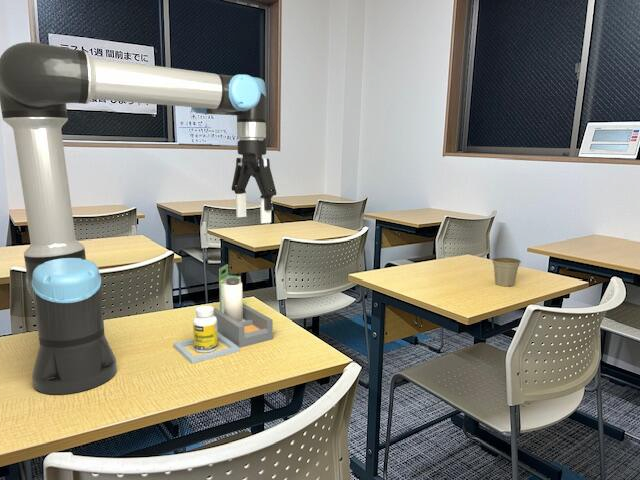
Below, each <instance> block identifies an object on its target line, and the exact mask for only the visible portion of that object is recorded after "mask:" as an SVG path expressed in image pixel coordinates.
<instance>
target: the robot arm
mask: <svg viewBox="0 0 640 480" xmlns="http://www.w3.org/2000/svg"><path fill="white" fill-rule="evenodd" d="M266 91H267V90H266V83H265V81H264V79H262V78H260V77H254V76H251V75H249V74H239V73H238V74H236V75H227V74H221V73H220V74H219V73H217V74H216V73H214V72H213V73H212V72H206V71H198V70H188V69H182V68H173V67H166V66H158V65H152V64H151V65H150V64H143V63H137V62H136V63H135V62H128V61H119V60H114V59H105V58H97V57H93V56H91V55H90V54H89V53H88V52H87V51H86V50H79V49H75V48H74V49H73V48H68V47H64V46H63V47H62V46H57V45H53V44H46V43H40V42H32V41H29V42H27V41H25V42H20V43H19V42H18V43H16V44H13V45H11V46H10V47H8V48H7V49H6V50H4V52H3V53H1V55H0V110H1V117H2V120H3V121H4V122H5V123H6V124H7V125H9V126H10V127H11V128H12V130H13V135H14V143H15V150H16V156H17V163H18V171H19V176H20V182H21V188H22V197H23V202H24V209H25V215H26V221H27V222H26V223H27V229H28V235H29V241H30V245H29V246H28V247H27V249H26V250H25V251H24V252H23V258H24V264H25V265H24V266H25V269H26V270H25V271H26V278H25V283H26V288H27V291H28V293H29V295H30V296H31V299H32V301H33V304H34V308H35V314H36V323H37V324H36V325H37V332H38V333H37V334H38V343H39V347H38V352H37V355H36V360H35V363H34V367H33V371H32V375H31V376H32V383H33V388H34V389H35V390H36V391H37V390H38V391H37V392H39V391H40V392H39V393H42V394H48V395H67V394H68V395H69V394H75V393H80V392H83V391H88V390H90V389H94V388H96V387H98V386H100V385H103V384H106V383H107V382H109V381H110V380H111V379H112V378H113V377H114V376H115V375H116V373H117V371H118V368H117V359H116V356H115V355H114V352H113V350H112V348H111V345H110V344H109V342H108V340H107V337H106V335H105V334H106V333H105V324H104V310H103V299H102V298H103V297H102V277H101V274H100V270H99V269H100V268H99V267H98V265H97V264H96V263H95V262H93V261H92V260H90V259H87V257H86V249H85V246H84V244H82V243H81V242H80V241H78V240H77V238H76V232H75V231H76V230H75V224H74V216H73V209H72V202H71V194H70V186H69V180H68V179H69V178H68V171H67V165H66V164H67V162H66V157H65V156H66V155H65V150H64V147H65V146H64V141H63V133H62V128H63V126H64V125H65V124H66V123H67V122H68V120H69V118H68V110H67V104H84V105H87V104H89V103H90V102H91V101H93V100H97V101H98V100H100V101H113V102H122V103H123V102H124V103H137V104H147V105H148V104H150V105H158V106H159V105H161V106H162V105H163V106H173V107H183V108H184V107H185V108H187V107H188V108H191V110H192V111H193V113H195V114H202V115H219V116H220V115H221V116H223V115H224V116H236V137H237V139H239V140H237V153H238V155H241V156H242V157H236V159H235V160H236V161H235V169H234V175H233V179H232V180H233V181H232V184H231V190H232V191H234V194H235V204H236V205H235V206H236V207H235V210H236V213H235V214H236V218H244V217H245V218H247V191H246V188H247V186H248V184H249V181H250V179H251V177H252V178H254V180H255V182H256V185H257V187H258V190H259V192H260V197H259V199H260V224H269V223H272V198H273V196H277V189H276V187H275V182H274V178H273V174H272V171H271V164H270V159H269V158H263V156H265V155H266V154H267V142H266V140H265V139H266V138H267V132H266V131H267V126H266V125H267V124H266V123H267V119H266V118H267V116H266V115H267V110H266V107H267V93H266Z"/></svg>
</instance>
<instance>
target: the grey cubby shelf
mask: <svg viewBox="0 0 640 480" xmlns="http://www.w3.org/2000/svg"><path fill="white" fill-rule="evenodd" d="M213 308H214V307H213ZM213 316H215V317H216V318H217V332H218V333H220V334H221V335H223V336H224V337H225V338H227V339H228V340H230V341H231V342H232V343H234V344H235V345H237V346H238V347H239V348H243V347H247V346H251V345H255V344H259V343H263V342H267V341H271V340H273V339H274V335H273V334H274V333H273V332H274V331H273V330H274V329H273V327H274V326H273V319H272V318H270V317H268V316H267V315H265V314H263V313H261V312H259V311H257V310H256V309H254V308H252V307H250V306H249V305H247V304H245V303H243V321H242V322H237V321H235V320H234V319H232V318H231V317H229V316H227V315H226V314H224V313H223V312H221V311H220V309H218V308H216V307H215V308H214V314H213Z"/></svg>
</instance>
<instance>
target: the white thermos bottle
mask: <svg viewBox="0 0 640 480" xmlns="http://www.w3.org/2000/svg"><path fill="white" fill-rule="evenodd" d="M243 293H244V292H243V282H242V281H241V282H239V279H237V278H230V279H227V280H226V282H225V283H223V297H224V314H226V315H227V316H229V317H231V318H232V319H234V320H235V321H237V322H242V321H243V304H244V302H243V301H244V300H243V299H244V298H243Z"/></svg>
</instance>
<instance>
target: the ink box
mask: <svg viewBox="0 0 640 480" xmlns="http://www.w3.org/2000/svg"><path fill="white" fill-rule="evenodd" d="M224 270H225V272H224V273H223V271H224ZM230 278H237V279H239V282H242V277H241V276H239V275H229V264H228V263H227V264H225V265H223V266H221V267H220V268H219V269H218V279H219V280H218V281H219V282H218V286H219V311H221V312H223V313H224V297H223V283H225V282H226V280H227V279H230Z"/></svg>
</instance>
